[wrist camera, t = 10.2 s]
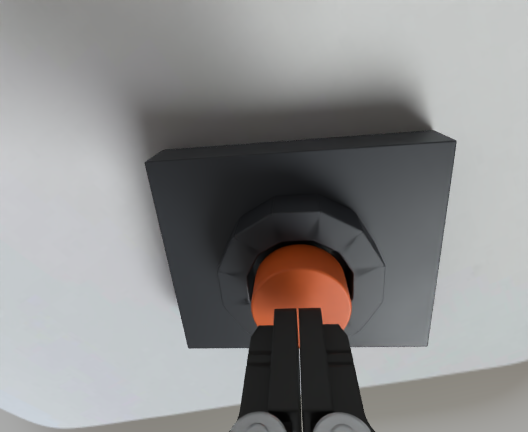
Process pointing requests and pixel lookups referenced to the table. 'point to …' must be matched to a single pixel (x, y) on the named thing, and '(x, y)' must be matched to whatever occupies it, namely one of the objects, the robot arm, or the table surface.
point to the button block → (306, 227)
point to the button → (301, 285)
